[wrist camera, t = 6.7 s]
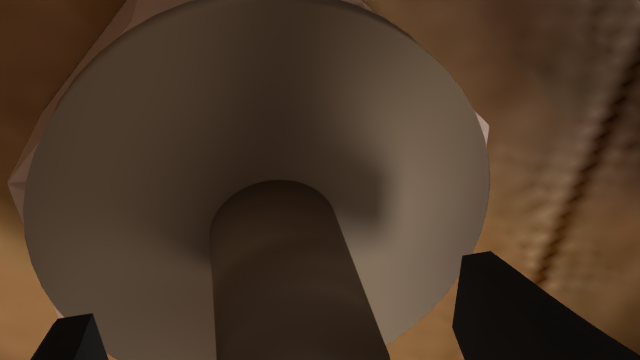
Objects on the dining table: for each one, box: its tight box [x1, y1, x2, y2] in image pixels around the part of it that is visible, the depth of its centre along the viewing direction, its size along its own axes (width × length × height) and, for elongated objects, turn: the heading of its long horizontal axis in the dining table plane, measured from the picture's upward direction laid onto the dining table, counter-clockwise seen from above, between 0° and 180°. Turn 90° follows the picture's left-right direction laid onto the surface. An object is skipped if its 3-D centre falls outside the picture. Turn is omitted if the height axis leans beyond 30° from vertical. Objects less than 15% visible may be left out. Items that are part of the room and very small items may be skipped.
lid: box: [23, 0, 490, 360], centre depth 11 cm, size 10×10×5 cm
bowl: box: [7, 0, 489, 318], centre depth 15 cm, size 11×11×4 cm
